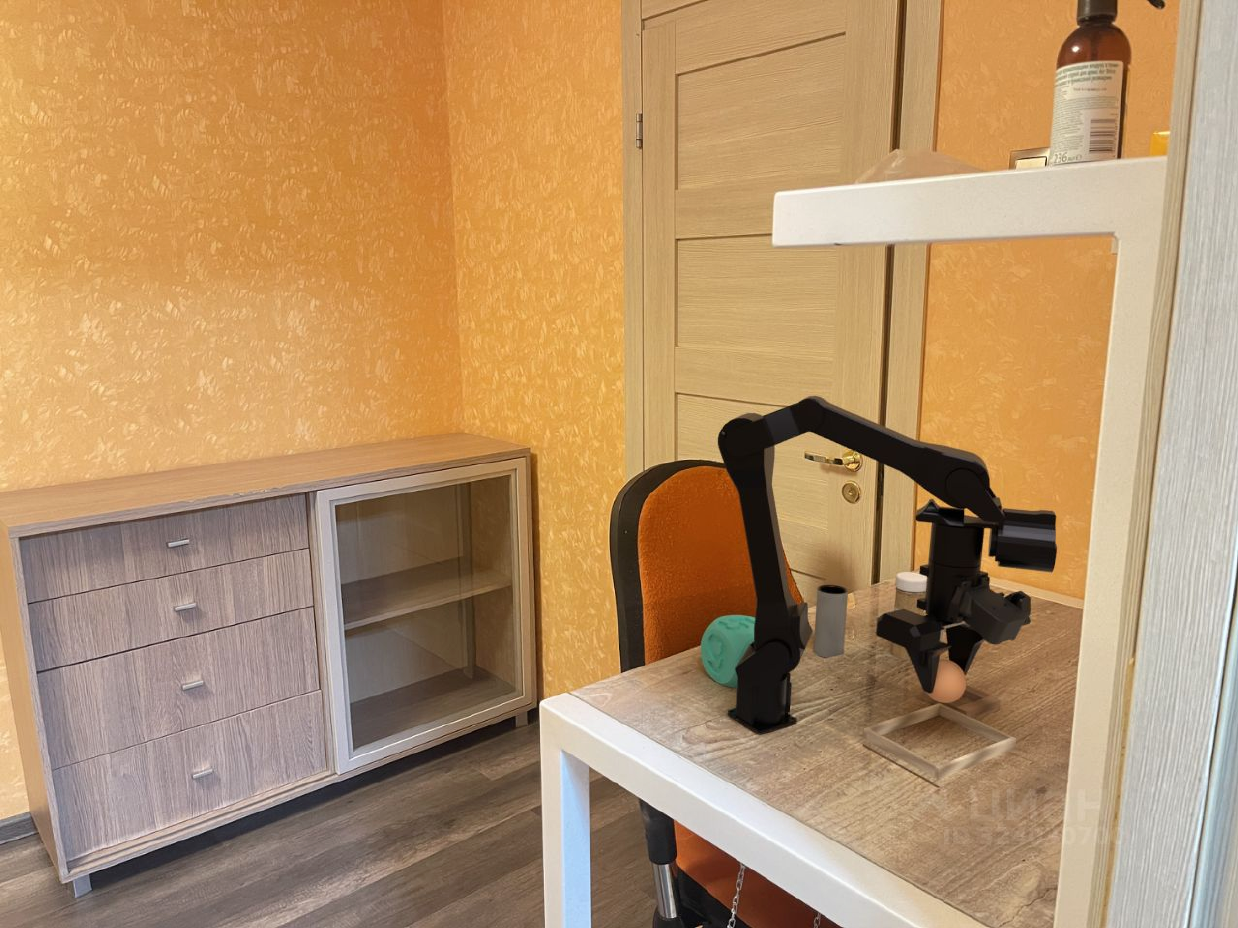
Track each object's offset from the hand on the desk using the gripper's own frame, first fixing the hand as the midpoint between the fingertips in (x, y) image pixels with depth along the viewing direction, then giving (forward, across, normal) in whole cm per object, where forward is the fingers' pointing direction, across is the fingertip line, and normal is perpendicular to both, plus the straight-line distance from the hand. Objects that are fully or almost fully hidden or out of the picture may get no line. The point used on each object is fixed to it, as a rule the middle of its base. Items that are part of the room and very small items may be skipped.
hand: (942, 687), depth 106 cm
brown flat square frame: (+8, +12, +6) cm, 16 cm away
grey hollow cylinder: (+8, +11, +29) cm, 32 cm away
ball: (+2, 0, 0) cm, 2 cm away
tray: (+8, 0, 0) cm, 8 cm away
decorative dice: (+8, -7, +29) cm, 31 cm away
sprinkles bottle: (+8, +19, +21) cm, 30 cm away
